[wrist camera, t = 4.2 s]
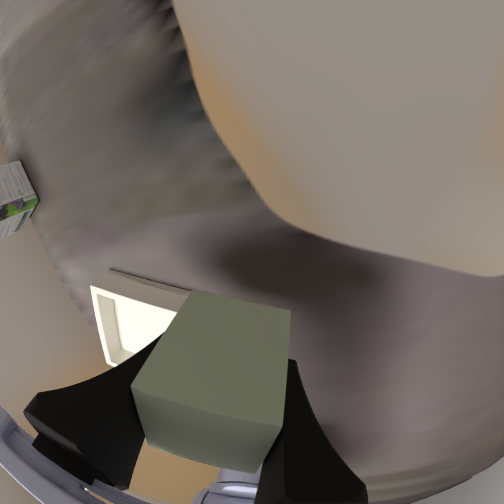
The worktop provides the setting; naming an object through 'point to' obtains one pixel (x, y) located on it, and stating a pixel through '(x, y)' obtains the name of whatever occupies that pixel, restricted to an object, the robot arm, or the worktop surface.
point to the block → (216, 382)
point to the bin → (132, 312)
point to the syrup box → (15, 198)
